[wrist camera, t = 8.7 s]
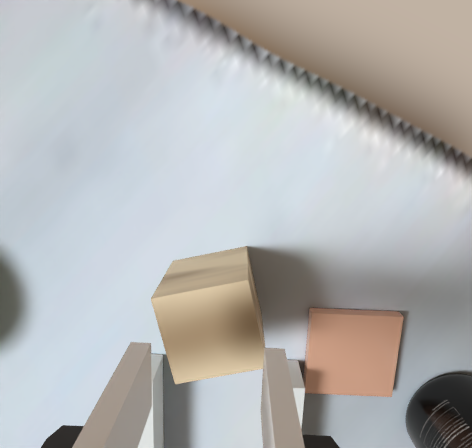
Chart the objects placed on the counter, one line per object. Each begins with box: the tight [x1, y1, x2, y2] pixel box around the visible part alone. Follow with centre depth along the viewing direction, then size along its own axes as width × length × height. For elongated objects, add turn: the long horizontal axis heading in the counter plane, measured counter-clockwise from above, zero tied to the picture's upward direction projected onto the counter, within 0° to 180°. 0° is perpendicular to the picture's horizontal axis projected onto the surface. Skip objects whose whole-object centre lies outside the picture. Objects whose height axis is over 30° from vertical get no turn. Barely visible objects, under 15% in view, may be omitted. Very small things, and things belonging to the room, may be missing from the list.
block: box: [151, 246, 265, 384], centre depth 22 cm, size 5×5×6 cm
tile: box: [303, 308, 404, 397], centre depth 25 cm, size 6×6×1 cm
